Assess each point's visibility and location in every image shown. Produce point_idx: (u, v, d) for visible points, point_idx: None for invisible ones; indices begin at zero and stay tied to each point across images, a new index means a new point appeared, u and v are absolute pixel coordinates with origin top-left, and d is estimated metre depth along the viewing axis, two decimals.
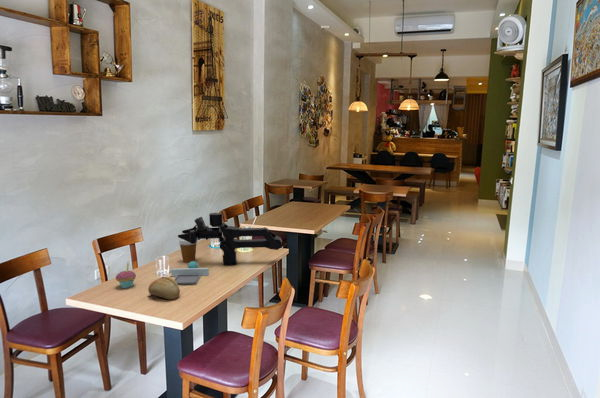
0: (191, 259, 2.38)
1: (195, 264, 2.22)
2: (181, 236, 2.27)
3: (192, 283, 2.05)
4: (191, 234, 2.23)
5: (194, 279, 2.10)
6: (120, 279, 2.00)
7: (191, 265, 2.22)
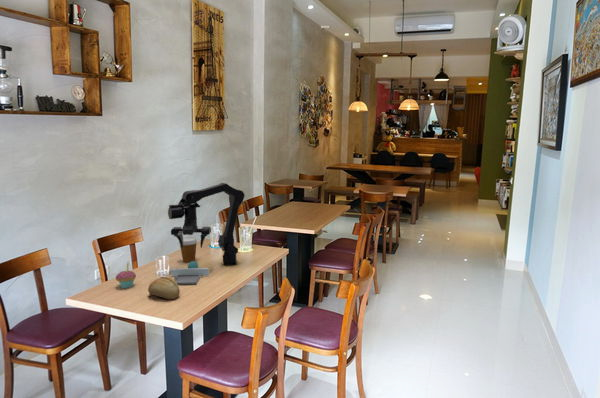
0: (191, 259, 2.38)
1: (195, 264, 2.22)
2: (202, 243, 2.22)
3: (192, 283, 2.05)
4: (209, 232, 2.19)
5: (194, 279, 2.10)
6: (120, 279, 2.00)
7: (191, 265, 2.22)
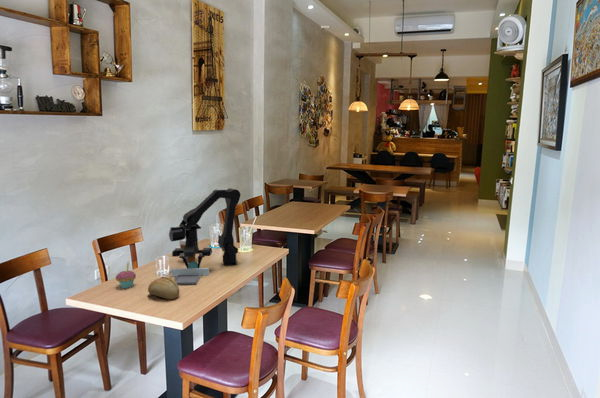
0: (191, 259, 2.38)
1: (195, 264, 2.22)
2: None
3: (192, 283, 2.05)
4: (210, 253, 2.21)
5: (194, 279, 2.10)
6: (120, 279, 2.00)
7: (191, 265, 2.22)
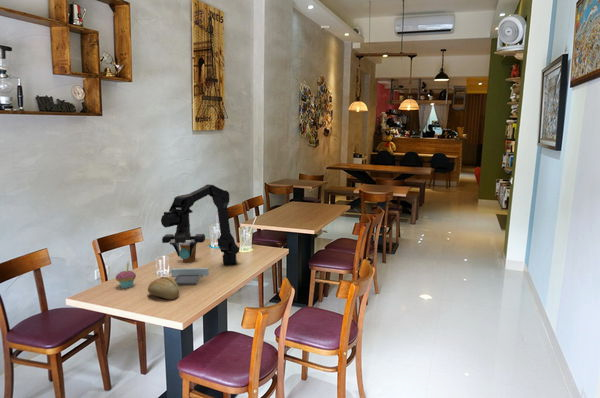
0: (191, 259, 2.38)
1: (187, 251, 2.07)
2: None
3: (192, 283, 2.05)
4: (203, 240, 2.05)
5: (194, 279, 2.10)
6: (120, 279, 2.00)
7: (182, 252, 2.06)
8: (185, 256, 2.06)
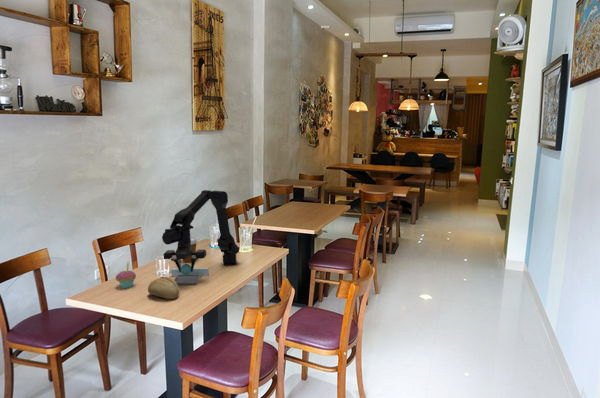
0: None
1: (188, 267, 2.08)
2: (193, 267, 2.09)
3: (192, 283, 2.05)
4: (204, 256, 2.06)
5: (194, 279, 2.10)
6: (120, 279, 2.00)
7: (184, 268, 2.07)
8: (186, 272, 2.07)
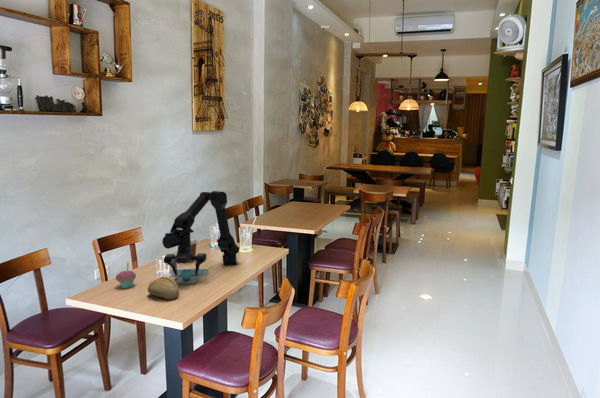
0: None
1: (188, 272, 2.08)
2: (197, 271, 2.09)
3: (192, 283, 2.05)
4: (204, 259, 2.07)
5: (194, 279, 2.10)
6: (120, 279, 2.00)
7: (184, 273, 2.07)
8: (187, 277, 2.08)
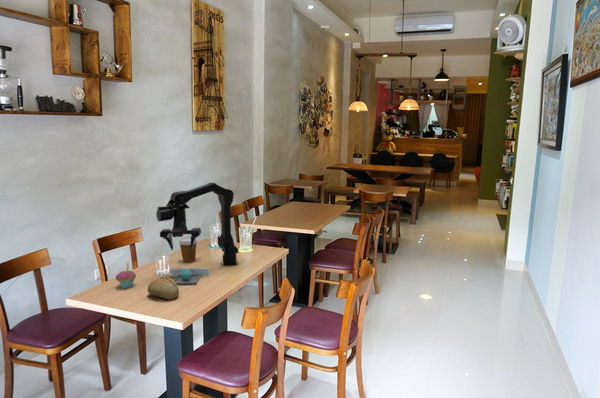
0: (191, 259, 2.38)
1: (188, 272, 2.08)
2: (192, 245, 2.18)
3: (192, 283, 2.05)
4: (199, 233, 2.15)
5: (194, 279, 2.10)
6: (120, 279, 2.00)
7: (184, 273, 2.07)
8: (187, 277, 2.08)
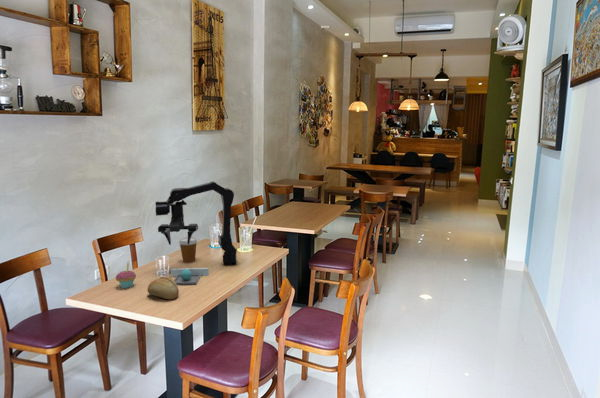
0: (191, 259, 2.38)
1: (188, 272, 2.08)
2: (189, 240, 2.25)
3: (192, 283, 2.05)
4: (196, 229, 2.22)
5: (194, 279, 2.10)
6: (120, 279, 2.00)
7: (184, 274, 2.07)
8: (186, 277, 2.08)
